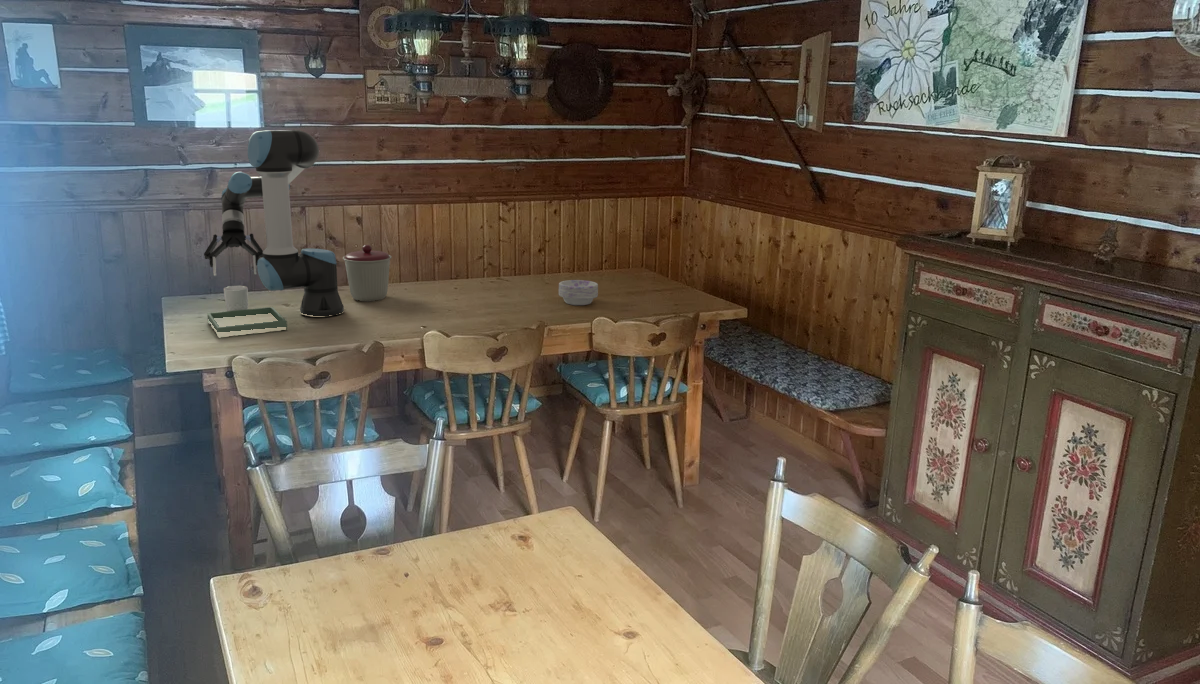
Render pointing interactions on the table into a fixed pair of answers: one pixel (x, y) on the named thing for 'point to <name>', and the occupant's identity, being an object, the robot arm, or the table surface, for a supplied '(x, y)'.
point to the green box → (266, 310)
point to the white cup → (236, 298)
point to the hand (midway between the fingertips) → (235, 273)
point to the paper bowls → (578, 291)
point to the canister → (368, 273)
